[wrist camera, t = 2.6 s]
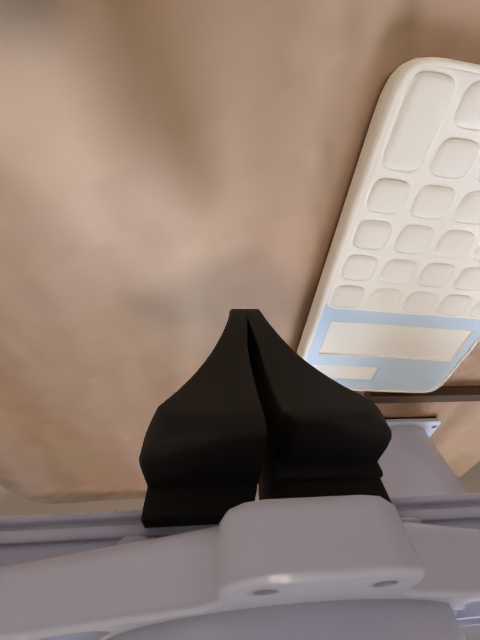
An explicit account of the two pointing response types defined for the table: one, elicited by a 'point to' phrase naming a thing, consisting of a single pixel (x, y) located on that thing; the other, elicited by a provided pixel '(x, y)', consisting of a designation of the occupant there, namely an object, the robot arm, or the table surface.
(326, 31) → the table surface
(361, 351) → the calculator
